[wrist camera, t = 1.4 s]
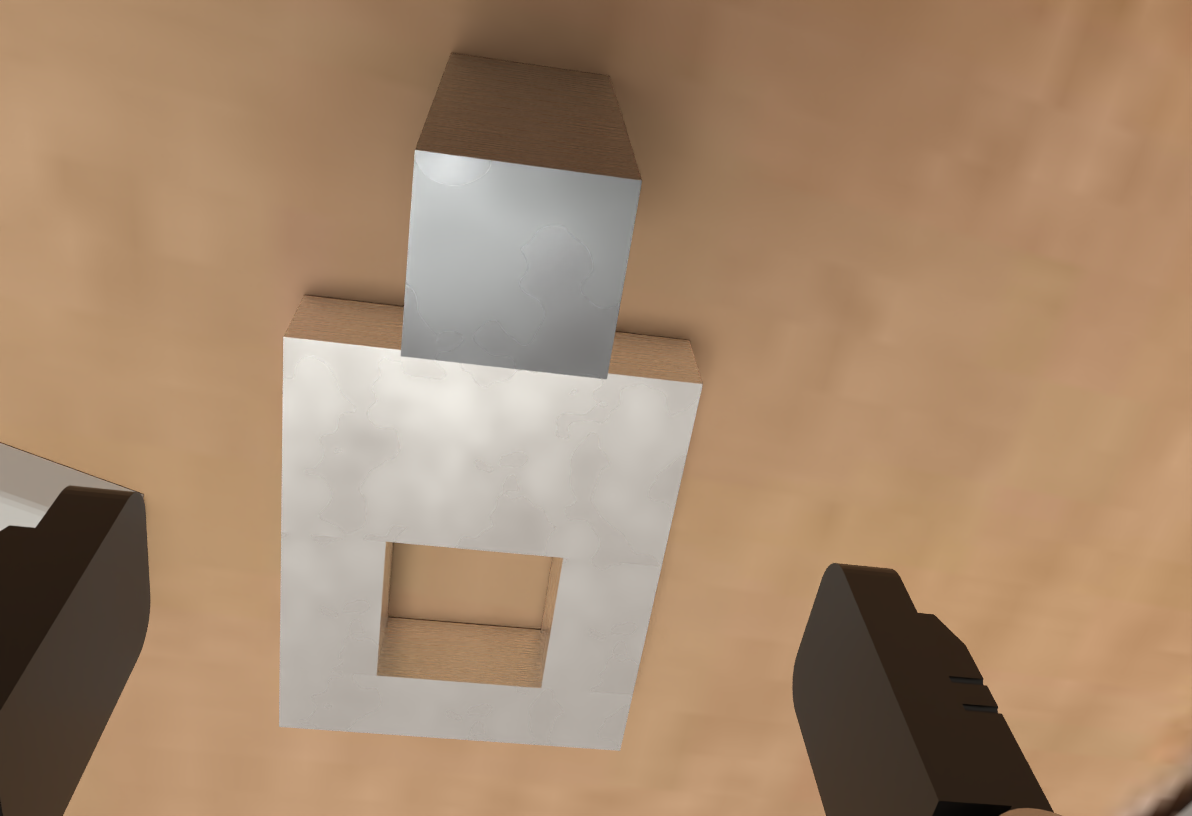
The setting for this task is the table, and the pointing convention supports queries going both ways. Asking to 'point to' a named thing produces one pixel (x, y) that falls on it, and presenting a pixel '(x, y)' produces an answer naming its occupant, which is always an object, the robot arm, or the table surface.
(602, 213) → the square peg
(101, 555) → the robot arm
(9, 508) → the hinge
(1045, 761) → the table surface
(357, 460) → the square hole plate
